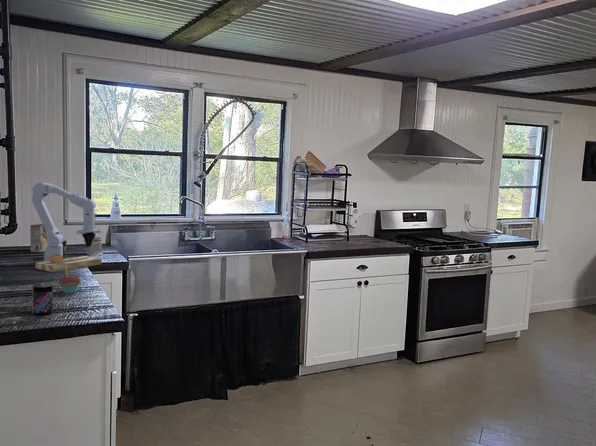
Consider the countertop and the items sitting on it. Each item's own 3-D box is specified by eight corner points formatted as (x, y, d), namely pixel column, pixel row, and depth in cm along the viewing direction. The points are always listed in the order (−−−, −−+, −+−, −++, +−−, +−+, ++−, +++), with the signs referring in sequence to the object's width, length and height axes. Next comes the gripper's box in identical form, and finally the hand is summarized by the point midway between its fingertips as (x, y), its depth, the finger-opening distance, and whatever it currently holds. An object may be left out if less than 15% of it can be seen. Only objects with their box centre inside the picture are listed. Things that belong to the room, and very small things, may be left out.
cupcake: (66, 295, 214) (66, 266, 213) (54, 292, 219) (54, 264, 217) (84, 291, 221) (85, 264, 220) (72, 288, 226) (72, 261, 225)
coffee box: (37, 249, 321) (37, 223, 320) (48, 250, 321) (48, 224, 320) (30, 251, 312) (30, 225, 311) (40, 252, 312) (40, 225, 311)
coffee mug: (60, 259, 292) (60, 241, 291) (46, 258, 294) (46, 240, 293) (73, 256, 304) (73, 239, 303) (59, 255, 305) (60, 238, 304)
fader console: (35, 268, 264) (35, 262, 264) (84, 261, 291) (84, 255, 291) (53, 272, 258) (53, 265, 258) (101, 264, 284) (101, 258, 284)
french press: (106, 253, 318) (107, 213, 316) (90, 255, 308) (90, 214, 306) (96, 251, 323) (97, 212, 321) (80, 253, 314) (80, 212, 311)
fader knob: (49, 261, 266) (49, 254, 266) (56, 260, 270) (56, 253, 270) (56, 263, 264) (56, 255, 264) (63, 262, 268) (63, 254, 267)
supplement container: (28, 315, 184) (28, 286, 183) (38, 310, 190) (38, 282, 189) (47, 316, 183) (47, 287, 182) (56, 311, 190) (56, 283, 189)
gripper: (82, 223, 275) (82, 248, 276) (104, 221, 287) (104, 245, 289) (73, 222, 278) (73, 247, 279) (95, 220, 291) (95, 244, 292)
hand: (88, 246), depth 284 cm, fingers closed
